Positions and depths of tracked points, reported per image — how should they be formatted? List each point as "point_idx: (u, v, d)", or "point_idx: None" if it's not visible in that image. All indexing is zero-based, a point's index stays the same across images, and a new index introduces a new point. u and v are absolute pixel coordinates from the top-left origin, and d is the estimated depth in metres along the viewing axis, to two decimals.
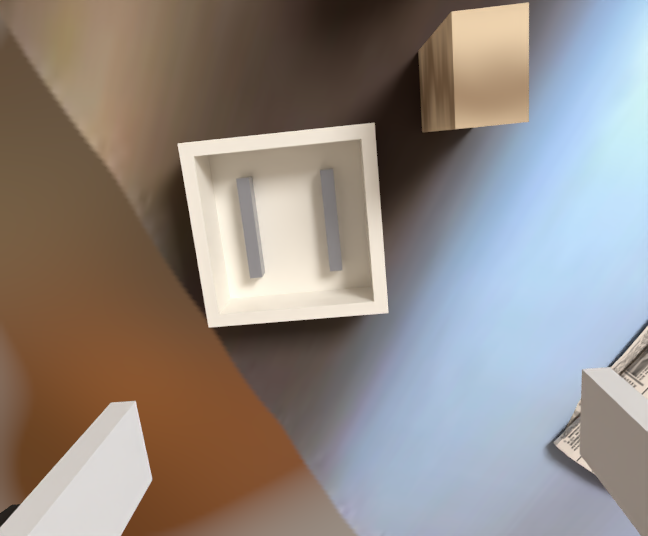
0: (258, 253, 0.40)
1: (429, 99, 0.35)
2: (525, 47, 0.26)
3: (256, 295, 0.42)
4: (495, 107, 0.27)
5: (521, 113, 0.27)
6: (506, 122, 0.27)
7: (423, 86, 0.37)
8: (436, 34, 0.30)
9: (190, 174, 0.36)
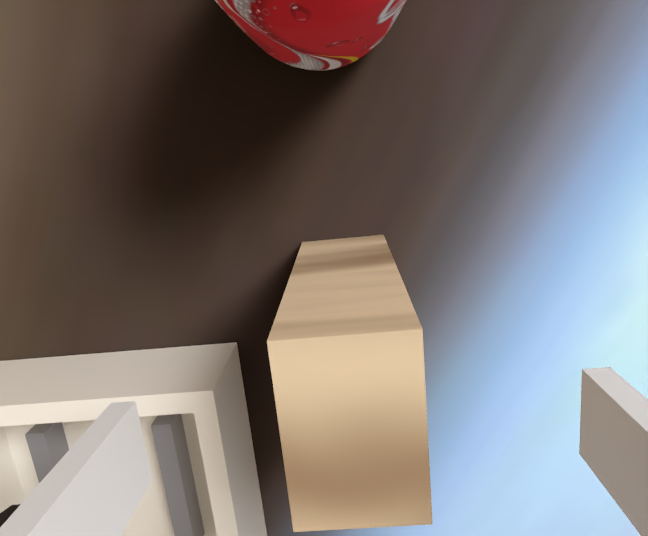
0: None
1: None
2: (419, 405, 0.13)
3: None
4: (367, 501, 0.14)
5: (417, 511, 0.14)
6: (390, 523, 0.14)
7: None
8: None
9: None
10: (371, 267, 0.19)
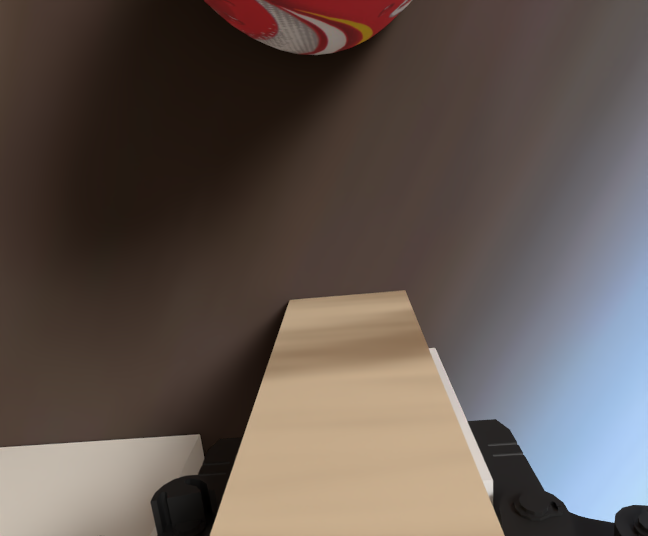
0: None
1: None
2: None
3: None
4: None
5: None
6: None
7: None
8: None
9: None
10: (395, 367, 0.11)
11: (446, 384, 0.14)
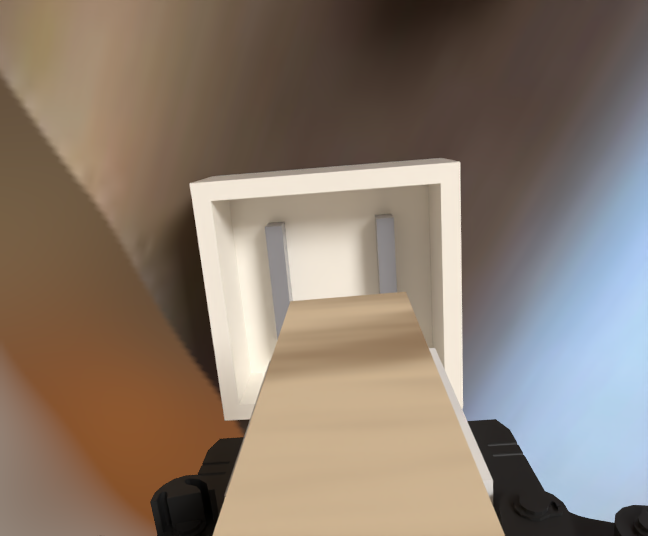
0: None
1: None
2: None
3: None
4: None
5: None
6: None
7: None
8: None
9: (206, 224, 0.26)
10: (396, 369, 0.11)
11: (446, 384, 0.14)
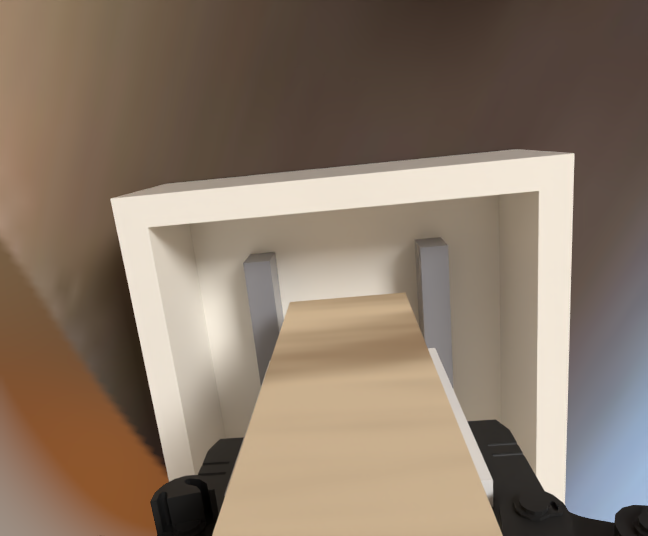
0: None
1: None
2: None
3: None
4: None
5: None
6: None
7: None
8: None
9: (141, 266, 0.16)
10: (395, 371, 0.11)
11: (446, 384, 0.14)
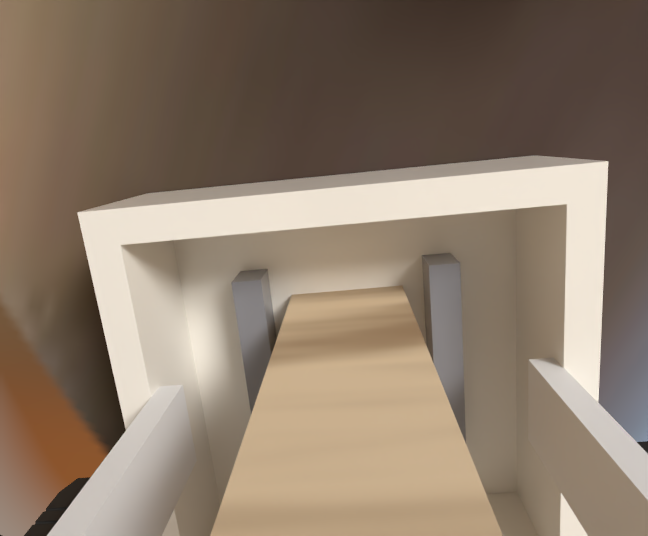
0: None
1: None
2: None
3: None
4: None
5: None
6: None
7: None
8: None
9: (114, 289, 0.14)
10: (392, 355, 0.12)
11: (590, 400, 0.12)
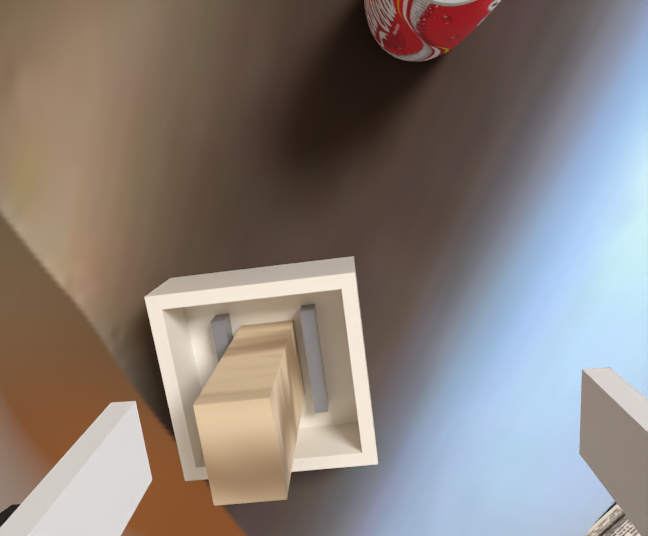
0: None
1: None
2: (272, 436, 0.26)
3: None
4: (251, 487, 0.26)
5: (278, 492, 0.26)
6: (264, 499, 0.27)
7: None
8: None
9: (159, 327, 0.33)
10: (270, 351, 0.31)
11: None
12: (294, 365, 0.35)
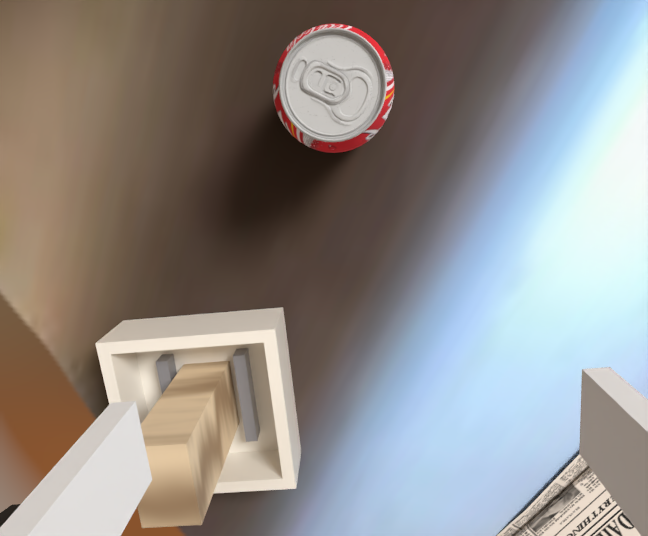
0: None
1: None
2: (189, 474, 0.31)
3: None
4: (172, 514, 0.32)
5: (194, 518, 0.32)
6: (183, 524, 0.32)
7: None
8: None
9: (108, 369, 0.39)
10: (200, 395, 0.37)
11: None
12: (226, 402, 0.40)
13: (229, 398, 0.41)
